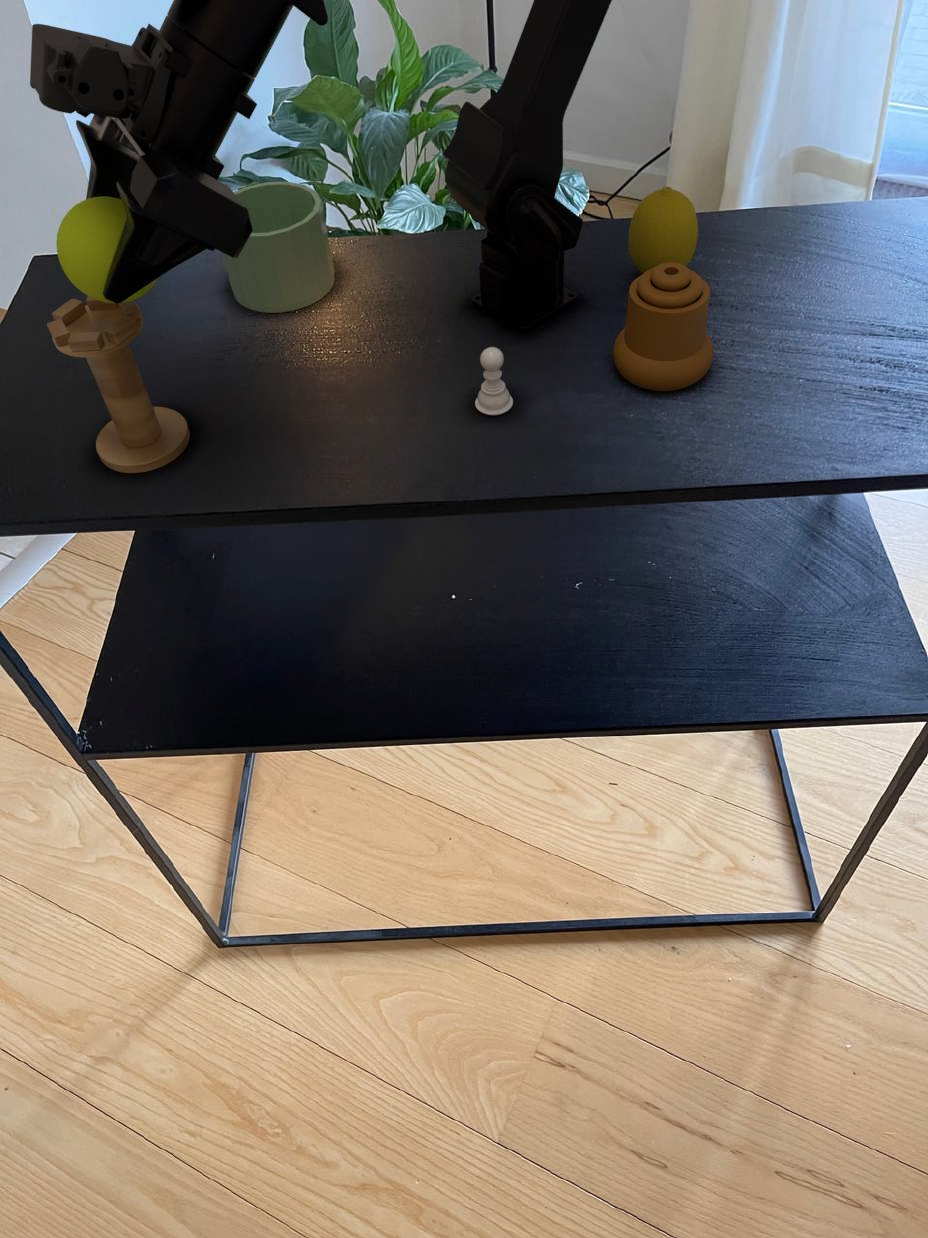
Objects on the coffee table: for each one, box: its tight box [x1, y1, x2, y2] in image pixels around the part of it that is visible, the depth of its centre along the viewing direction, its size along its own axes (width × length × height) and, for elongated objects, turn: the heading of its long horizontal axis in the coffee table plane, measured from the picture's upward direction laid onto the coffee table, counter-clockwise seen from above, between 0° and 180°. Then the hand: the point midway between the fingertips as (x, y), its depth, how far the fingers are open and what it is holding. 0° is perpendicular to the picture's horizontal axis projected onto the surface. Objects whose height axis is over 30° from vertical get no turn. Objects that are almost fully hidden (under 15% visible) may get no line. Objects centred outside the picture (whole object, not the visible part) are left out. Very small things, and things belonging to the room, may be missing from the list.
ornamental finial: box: [612, 262, 715, 392], centre depth 72 cm, size 8×8×8 cm
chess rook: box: [46, 295, 191, 474], centre depth 69 cm, size 7×7×11 cm
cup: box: [221, 181, 335, 314], centre depth 84 cm, size 9×9×7 cm
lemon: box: [627, 186, 699, 274], centre depth 80 cm, size 6×6×8 cm
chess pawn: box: [474, 346, 514, 416], centre depth 71 cm, size 3×3×5 cm
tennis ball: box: [55, 197, 159, 303], centre depth 63 cm, size 6×6×6 cm
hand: (97, 276), depth 63 cm, fingers closed on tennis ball, 6 cm apart
